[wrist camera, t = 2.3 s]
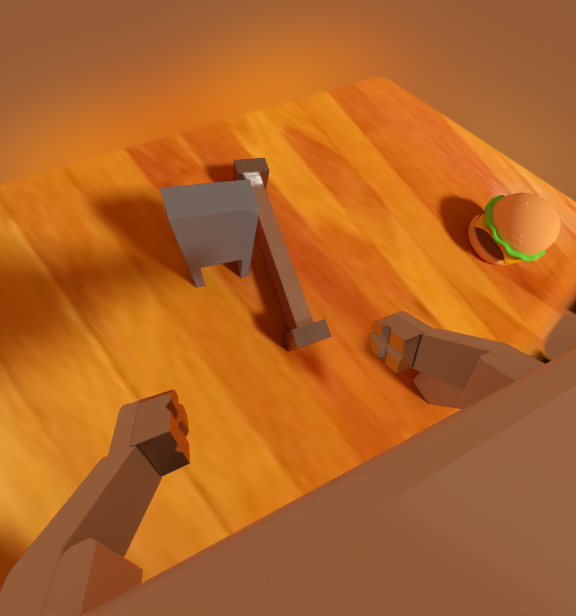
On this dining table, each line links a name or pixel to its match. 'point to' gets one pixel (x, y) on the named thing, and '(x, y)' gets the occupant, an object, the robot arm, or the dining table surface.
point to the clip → (213, 224)
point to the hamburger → (514, 229)
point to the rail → (280, 261)
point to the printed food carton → (438, 391)
